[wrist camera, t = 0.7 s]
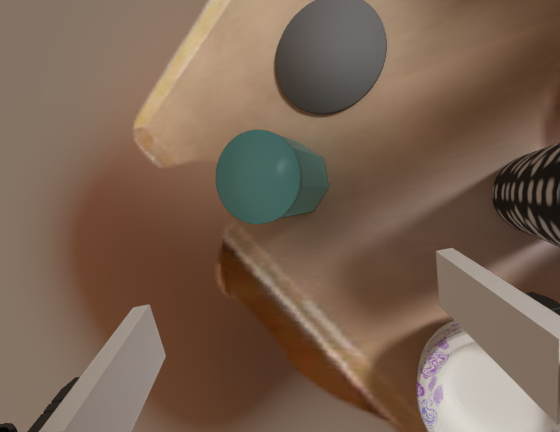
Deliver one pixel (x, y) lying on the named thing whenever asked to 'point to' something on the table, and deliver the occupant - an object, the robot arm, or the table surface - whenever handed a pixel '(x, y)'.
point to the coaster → (331, 55)
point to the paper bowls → (471, 389)
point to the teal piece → (269, 177)
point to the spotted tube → (531, 194)
